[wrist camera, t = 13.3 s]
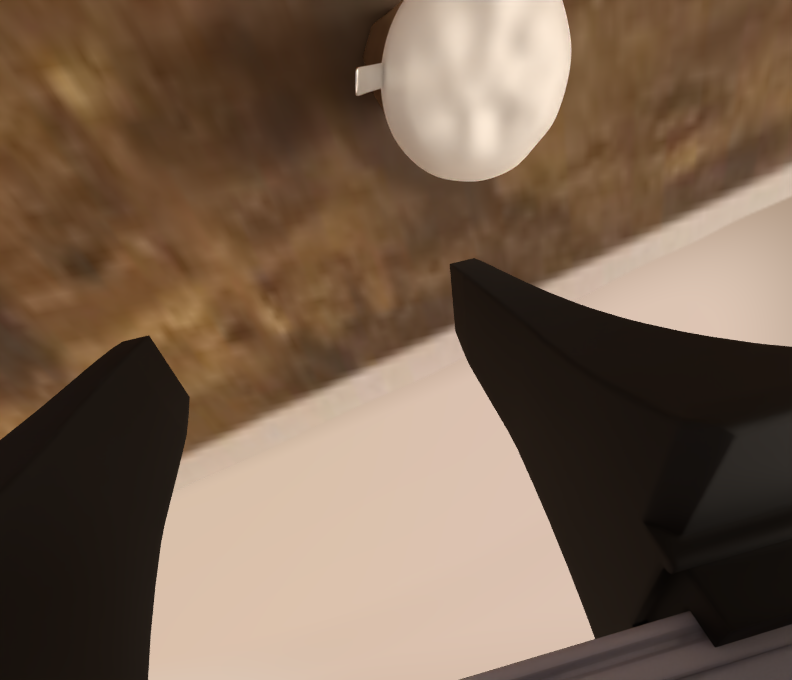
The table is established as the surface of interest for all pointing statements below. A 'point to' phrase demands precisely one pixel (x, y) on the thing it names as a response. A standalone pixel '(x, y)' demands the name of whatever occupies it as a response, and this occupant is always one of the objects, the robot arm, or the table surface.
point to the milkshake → (468, 80)
